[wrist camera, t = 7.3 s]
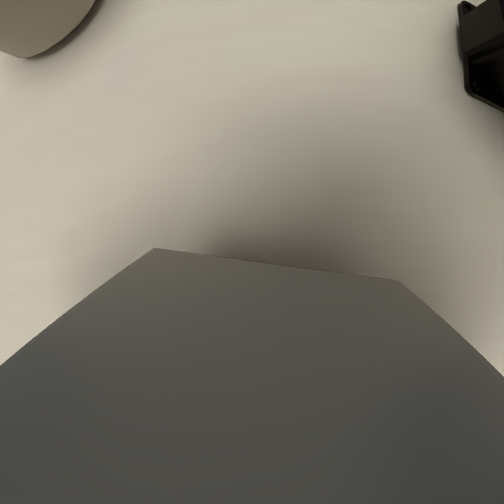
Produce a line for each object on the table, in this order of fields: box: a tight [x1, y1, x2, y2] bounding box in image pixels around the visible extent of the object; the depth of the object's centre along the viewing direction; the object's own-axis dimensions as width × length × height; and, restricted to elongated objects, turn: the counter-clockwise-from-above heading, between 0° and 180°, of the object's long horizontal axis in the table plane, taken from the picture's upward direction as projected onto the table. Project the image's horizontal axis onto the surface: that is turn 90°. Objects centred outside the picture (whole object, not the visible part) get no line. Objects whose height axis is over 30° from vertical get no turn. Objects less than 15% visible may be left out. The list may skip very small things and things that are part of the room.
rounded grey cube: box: [0, 248, 504, 504], centre depth 6 cm, size 8×8×9 cm
